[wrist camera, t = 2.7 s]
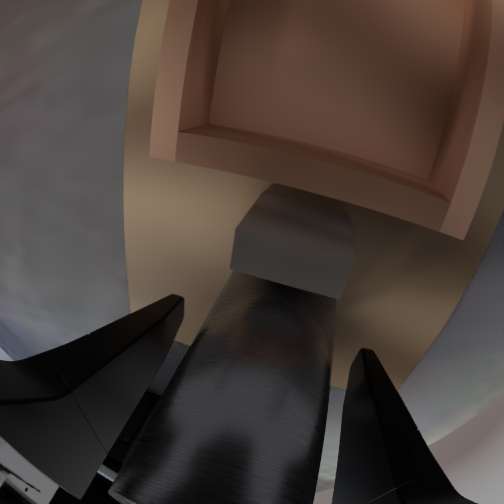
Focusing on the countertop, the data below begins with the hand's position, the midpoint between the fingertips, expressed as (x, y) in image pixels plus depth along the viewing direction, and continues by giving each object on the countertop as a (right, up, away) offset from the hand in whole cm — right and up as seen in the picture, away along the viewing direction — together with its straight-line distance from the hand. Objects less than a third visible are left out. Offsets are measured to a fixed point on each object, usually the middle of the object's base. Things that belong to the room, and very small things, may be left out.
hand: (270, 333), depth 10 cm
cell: (+1, +1, +2) cm, 2 cm away
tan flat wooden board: (+2, +5, +1) cm, 6 cm away
